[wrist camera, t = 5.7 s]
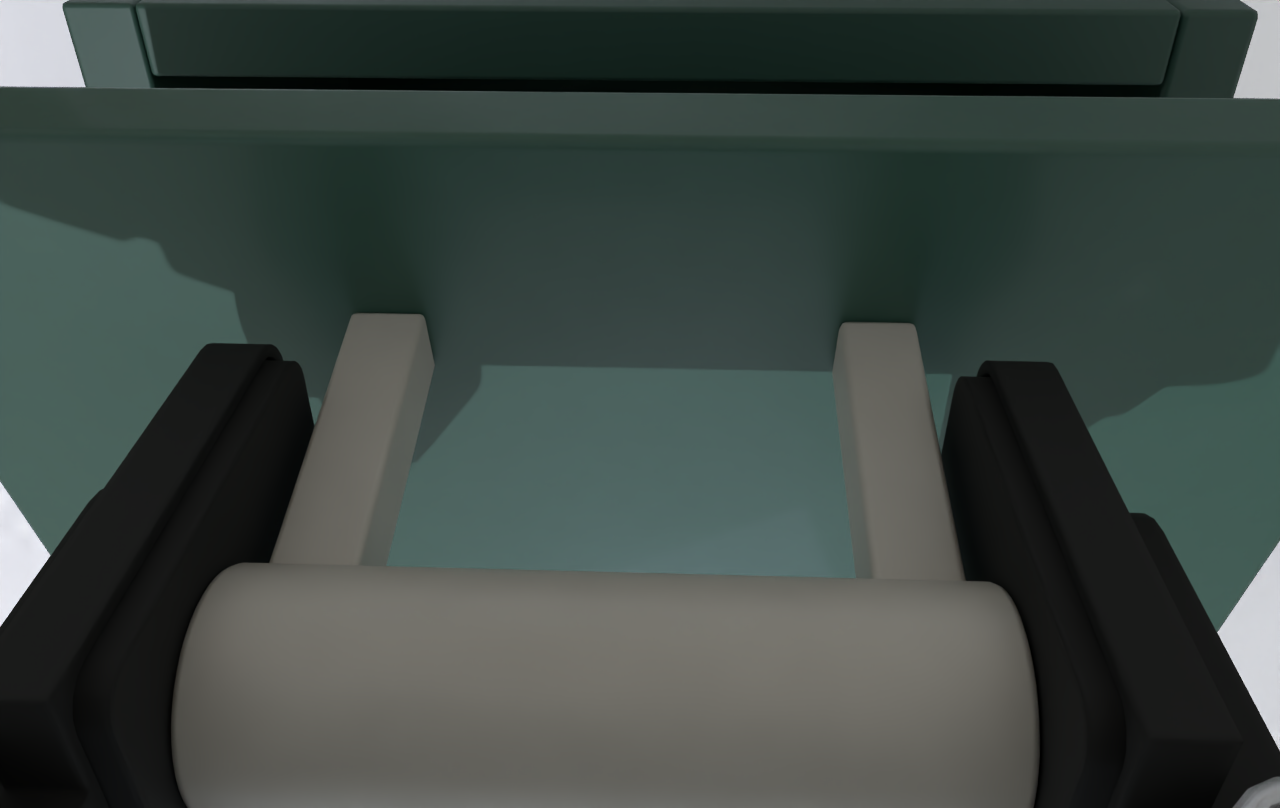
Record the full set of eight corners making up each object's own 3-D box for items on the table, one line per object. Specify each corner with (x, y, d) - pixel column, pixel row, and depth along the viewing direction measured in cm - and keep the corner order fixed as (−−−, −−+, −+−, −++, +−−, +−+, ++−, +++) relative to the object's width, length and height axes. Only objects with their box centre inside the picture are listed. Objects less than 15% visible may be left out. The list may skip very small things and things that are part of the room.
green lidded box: (284, -124, 21) (58, 3, 13) (1056, -122, 20) (1263, 11, 13) (413, 624, 32) (329, 915, 25) (909, 637, 31) (975, 939, 24)
